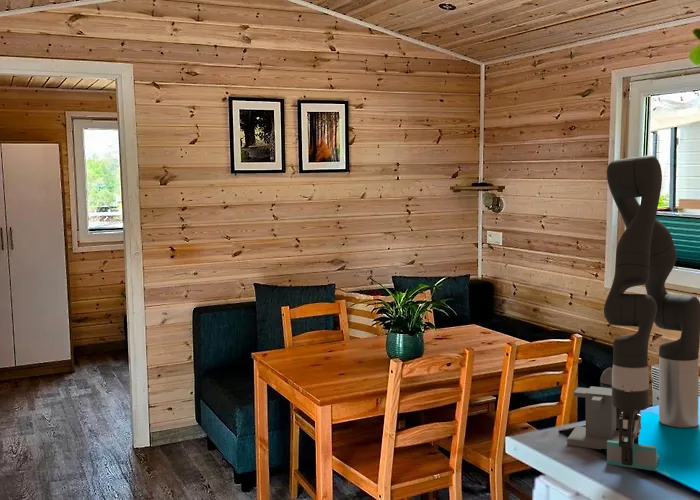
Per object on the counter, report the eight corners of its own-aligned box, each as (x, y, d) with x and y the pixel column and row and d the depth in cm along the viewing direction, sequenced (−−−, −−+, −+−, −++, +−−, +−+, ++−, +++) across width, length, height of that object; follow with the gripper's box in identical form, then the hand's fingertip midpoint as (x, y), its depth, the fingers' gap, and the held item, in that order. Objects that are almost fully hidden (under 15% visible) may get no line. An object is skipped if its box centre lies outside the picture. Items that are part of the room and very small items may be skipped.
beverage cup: (593, 424, 184) (593, 348, 183) (617, 421, 186) (616, 345, 185) (612, 433, 177) (612, 354, 176) (636, 429, 179) (636, 351, 178)
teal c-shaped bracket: (612, 453, 164) (612, 432, 163) (659, 459, 159) (659, 437, 158) (606, 463, 157) (606, 441, 157) (655, 471, 153) (655, 448, 152)
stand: (576, 431, 179) (576, 384, 178) (631, 438, 173) (631, 390, 172) (567, 444, 170) (566, 395, 169) (624, 452, 164) (624, 401, 163)
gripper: (617, 376, 162) (617, 445, 163) (606, 391, 150) (606, 466, 151) (652, 379, 159) (652, 450, 160) (644, 395, 146) (644, 472, 147)
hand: (630, 458), depth 155 cm, fingers open, 8 cm apart
